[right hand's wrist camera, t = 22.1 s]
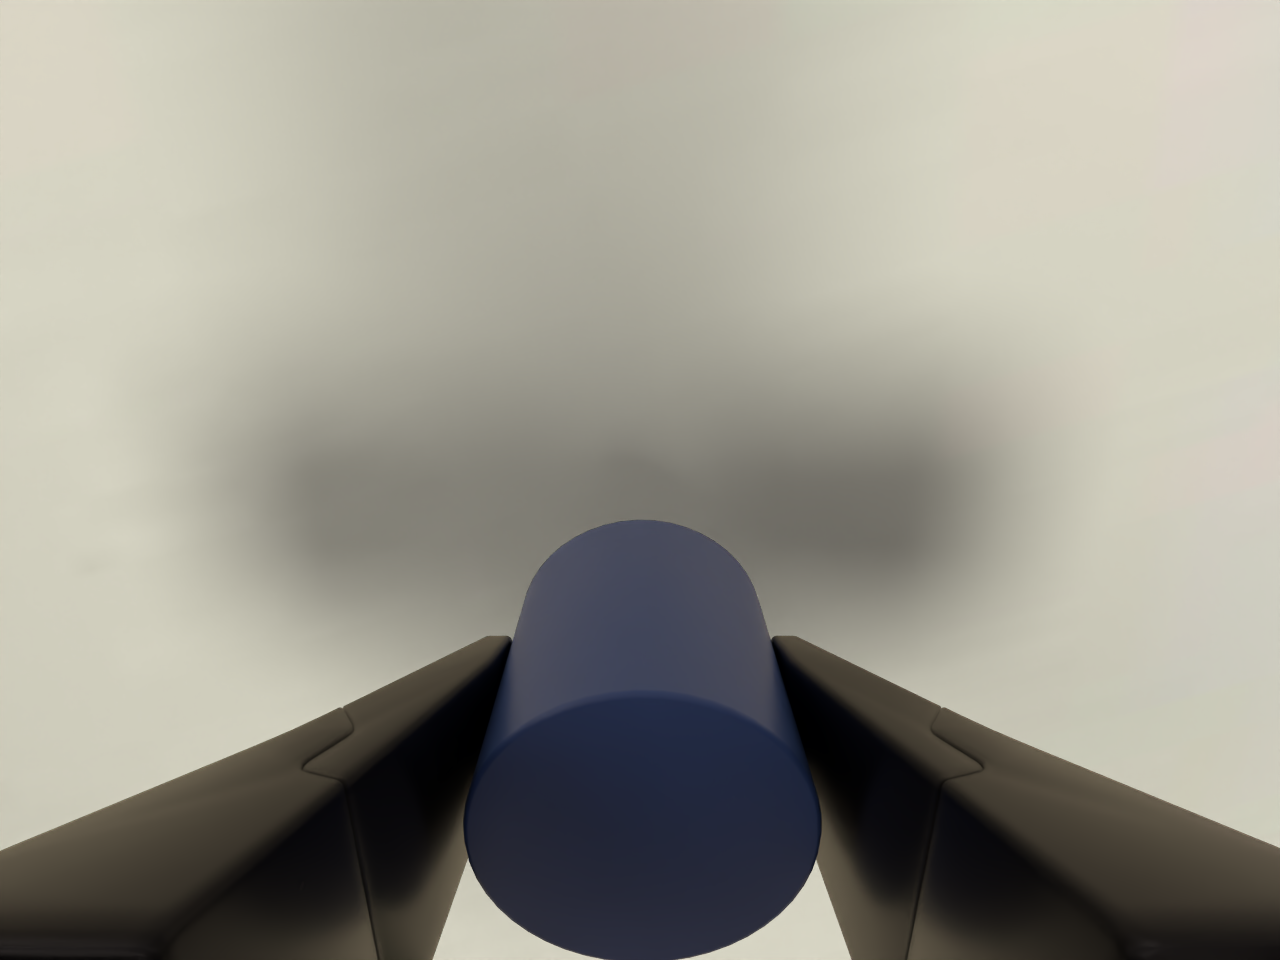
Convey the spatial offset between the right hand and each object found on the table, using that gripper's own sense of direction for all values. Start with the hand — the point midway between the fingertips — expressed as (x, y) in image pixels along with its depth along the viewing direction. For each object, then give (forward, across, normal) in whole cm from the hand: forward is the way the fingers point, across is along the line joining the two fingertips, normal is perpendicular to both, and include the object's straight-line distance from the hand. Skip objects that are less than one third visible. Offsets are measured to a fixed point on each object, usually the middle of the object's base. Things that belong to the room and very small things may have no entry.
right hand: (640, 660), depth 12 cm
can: (+1, 0, 0) cm, 1 cm away
